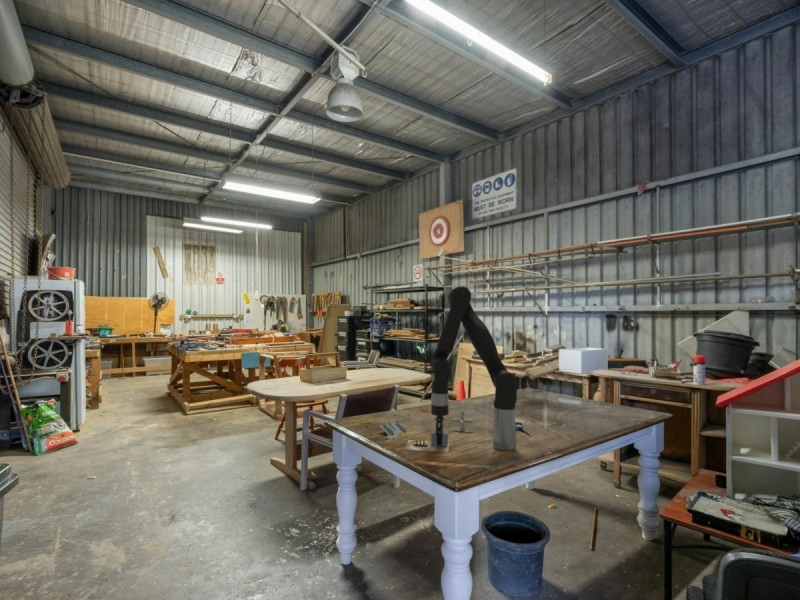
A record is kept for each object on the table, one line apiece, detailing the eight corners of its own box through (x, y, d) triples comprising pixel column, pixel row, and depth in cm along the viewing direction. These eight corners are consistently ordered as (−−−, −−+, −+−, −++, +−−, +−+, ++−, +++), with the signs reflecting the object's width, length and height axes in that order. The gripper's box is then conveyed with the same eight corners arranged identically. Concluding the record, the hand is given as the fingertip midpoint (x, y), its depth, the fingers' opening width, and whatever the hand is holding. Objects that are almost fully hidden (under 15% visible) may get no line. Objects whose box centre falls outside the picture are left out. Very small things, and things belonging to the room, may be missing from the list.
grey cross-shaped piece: (454, 427, 205) (454, 407, 205) (473, 429, 202) (473, 409, 202) (450, 432, 195) (450, 412, 196) (471, 434, 192) (471, 413, 192)
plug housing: (447, 443, 174) (448, 431, 174) (447, 446, 169) (447, 434, 170) (431, 442, 175) (432, 430, 175) (431, 445, 170) (431, 433, 171)
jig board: (448, 445, 176) (449, 436, 176) (448, 455, 163) (448, 445, 163) (408, 442, 179) (408, 434, 179) (404, 452, 166) (404, 443, 166)
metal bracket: (375, 421, 193) (401, 417, 201) (373, 432, 194) (399, 428, 202) (391, 437, 181) (417, 432, 190) (389, 449, 182) (415, 443, 191)
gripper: (448, 407, 165) (447, 449, 165) (448, 400, 179) (448, 438, 179) (430, 406, 166) (429, 447, 166) (432, 399, 181) (432, 437, 180)
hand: (439, 442), depth 172 cm, fingers closed on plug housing, 4 cm apart
